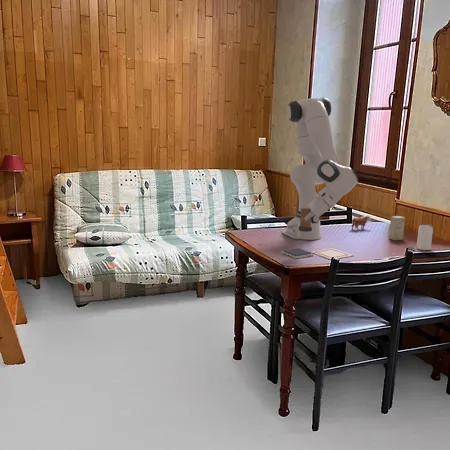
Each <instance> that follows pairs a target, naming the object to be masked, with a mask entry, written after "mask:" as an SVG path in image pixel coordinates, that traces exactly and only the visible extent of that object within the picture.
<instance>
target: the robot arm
mask: <svg viewBox="0 0 450 450" xmlns="http://www.w3.org/2000/svg"><path fill="white" fill-rule="evenodd" d="M331 113H332V103H331V101H330V99H328V98H326V97H319V98H318V97H312V98H310V97H309V98H306V99H299V100H293V101H291V102H289V103H288V105H287V110H286V114H287V117H288V120H289V121H290V122H292V123H296V129H295V132H296V144H297V146H296V147H297V153H298V154H299V156H300V157H301V158H302V159H303V160H304V162H305V163H303V164H299V165H296V166H293V168H292V169H291V171H290V175H289V177H290V181H291V183H293V184H294V185H295V187H296V190H297V193H298V210H296V211H294V213H295V214H296V215H295V217H293V218H292V219H291V220H289V221H288V222H287V225H286V229H283V230H282V231H281V233H282V234H284V235H286V236H287V237H290V238H291V239H295V240H307V241H308V240H309V241H310V240H311V241H312V240H315V241H316V240H319V239H320V240H321V238H322V233H321V220H320V219H321V217H322V215H324V214H325V213H326V212H327V211H329V210H330V209H333V208H334V207H335V206H336V204H337V203H338V202H340V200H341V199H342V198H343V196H345V195H347V194H348V193H350V191H351V190H352V189H354V187H355V186H356V185H357V184H358V183H359V177H358V176H357V174H356V172H355V171H354V170H353V169H352V167H349V166H343V165H341V164H339V163H338V160H337V156H336V153H335V148H334V143H333V135H332V126H331V122H330V116H331ZM323 184H324V187H323V188H322V189H320V190H319V191H318V193H317V191H316V185H323ZM301 207H310V208H311V209H310V210H311V212H309V214H307V215H306V216H305V217H304V219H305V220H306V221H307V220H308V219H309V218H311V227H312V231H309V232H304V231H299V230H298V229H299V226H300V218H301Z"/></svg>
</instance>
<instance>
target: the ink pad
mask: <svg viewBox="0 0 450 450" xmlns="http://www.w3.org/2000/svg"><path fill="white" fill-rule="evenodd" d="M282 253H284V254H286V255H285V256H287V255H289V256H291V257H290V258H292V257H293V259H294V258H299V259H303V257H304V258H309V257H308V256H310V257H314V254H313V253H311V251H307V250H305V249H302V248H299V247H296V248H290V249H284V250H281V254H282ZM284 254H283V255H284ZM289 256H288V257H289Z"/></svg>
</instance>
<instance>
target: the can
mask: <svg viewBox="0 0 450 450" xmlns="http://www.w3.org/2000/svg"><path fill="white" fill-rule="evenodd" d="M433 232H434V228H433V225H431V224H427V223H421V224H420V225H419V227H418V231H417V241H416V249H417V250H419V251H425V250H428V251H430V250H431V249H432V242H433V241H432V239H433Z"/></svg>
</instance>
